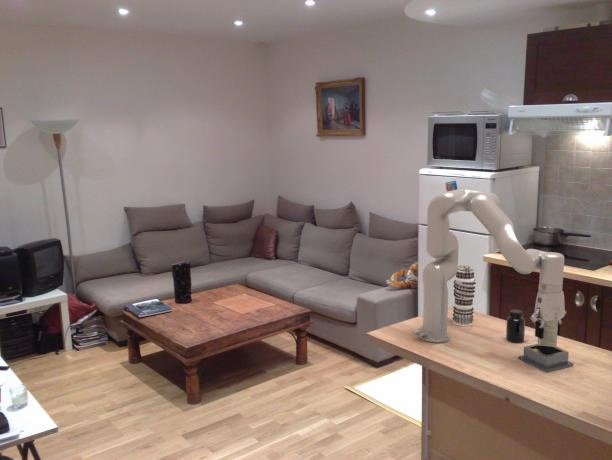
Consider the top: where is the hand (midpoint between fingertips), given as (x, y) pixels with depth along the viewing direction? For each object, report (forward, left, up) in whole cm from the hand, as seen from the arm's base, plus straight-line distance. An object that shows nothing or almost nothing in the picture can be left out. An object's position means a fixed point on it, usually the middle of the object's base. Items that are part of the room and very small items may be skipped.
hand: (547, 335), depth 199 cm
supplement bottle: (+6, +21, -10) cm, 24 cm away
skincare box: (0, 0, -4) cm, 4 cm away
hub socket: (0, 0, -10) cm, 10 cm away
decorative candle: (+1, +46, -10) cm, 47 cm away
